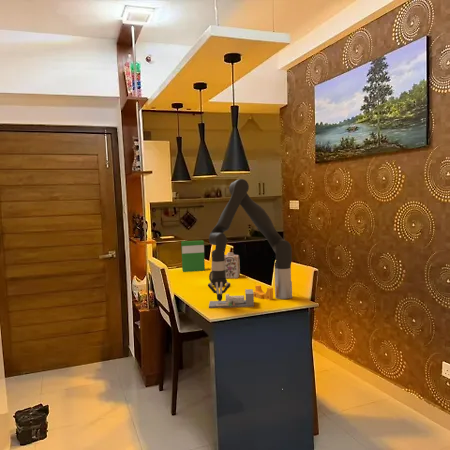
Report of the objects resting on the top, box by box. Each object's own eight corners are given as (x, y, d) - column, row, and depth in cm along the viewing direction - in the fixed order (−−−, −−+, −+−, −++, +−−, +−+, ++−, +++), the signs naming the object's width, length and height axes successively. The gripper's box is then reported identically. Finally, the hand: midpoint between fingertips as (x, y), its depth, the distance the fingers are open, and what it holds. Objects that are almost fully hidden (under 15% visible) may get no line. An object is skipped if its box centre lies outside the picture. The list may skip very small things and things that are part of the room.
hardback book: (183, 272, 335) (181, 242, 333) (182, 270, 342) (181, 241, 340) (204, 270, 338) (203, 241, 336) (203, 269, 345) (202, 240, 343)
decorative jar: (222, 278, 302) (221, 253, 301) (224, 275, 314) (223, 251, 313) (238, 278, 301) (237, 253, 299) (240, 275, 312) (239, 251, 311)
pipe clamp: (253, 297, 244) (253, 286, 244) (259, 295, 247) (258, 285, 246) (267, 300, 234) (267, 289, 234) (273, 299, 237) (272, 288, 237)
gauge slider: (244, 300, 230) (243, 293, 229) (244, 304, 222) (244, 297, 222) (225, 301, 230) (225, 294, 230) (225, 305, 222) (225, 297, 222)
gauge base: (252, 301, 233) (252, 289, 232) (253, 306, 222) (253, 293, 221) (209, 302, 233) (209, 290, 233) (208, 308, 222) (208, 295, 222)
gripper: (230, 267, 230) (231, 298, 231) (206, 268, 230) (208, 299, 231) (230, 269, 222) (231, 301, 223) (206, 270, 223) (207, 302, 224)
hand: (219, 300), depth 227 cm, fingers closed
